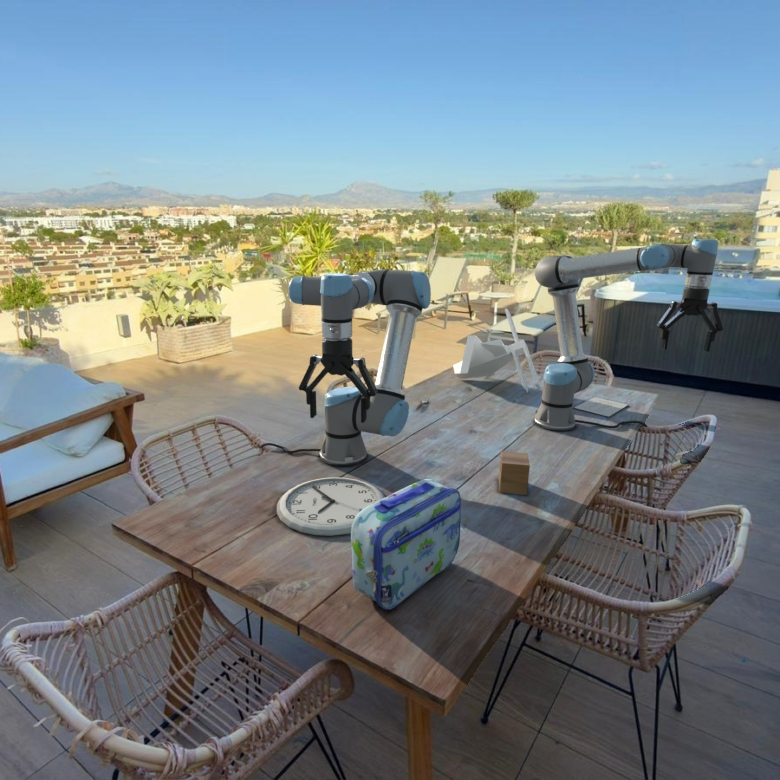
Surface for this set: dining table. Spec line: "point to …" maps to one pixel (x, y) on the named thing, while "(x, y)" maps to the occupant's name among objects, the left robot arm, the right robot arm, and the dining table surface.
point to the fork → (423, 402)
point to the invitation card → (601, 406)
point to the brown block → (514, 473)
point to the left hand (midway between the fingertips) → (338, 418)
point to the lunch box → (405, 541)
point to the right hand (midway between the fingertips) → (685, 349)
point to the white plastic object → (494, 357)
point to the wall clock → (326, 505)
